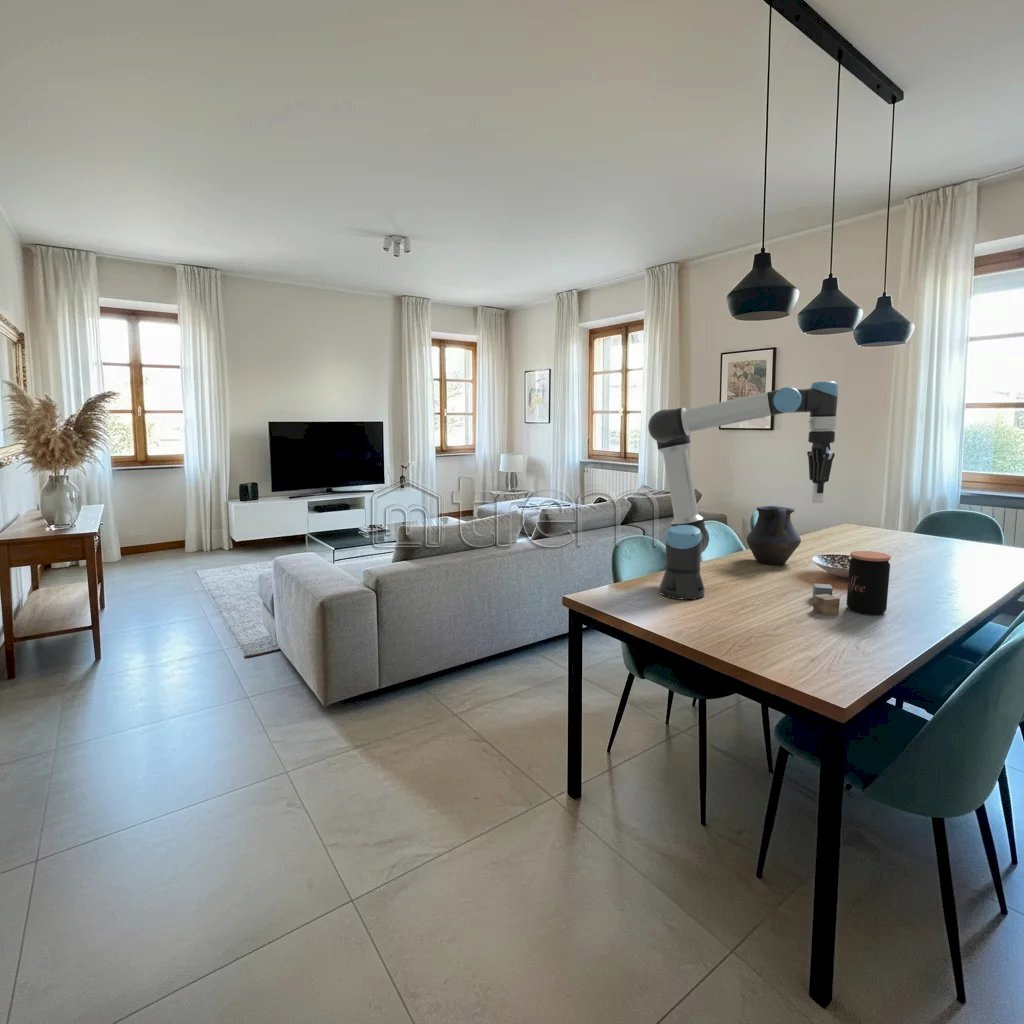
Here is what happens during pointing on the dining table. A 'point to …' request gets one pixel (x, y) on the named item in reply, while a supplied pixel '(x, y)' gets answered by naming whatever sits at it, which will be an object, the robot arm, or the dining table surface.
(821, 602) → the walnut block
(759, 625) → the dining table surface
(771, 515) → the pitcher
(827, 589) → the grey cube
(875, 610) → the coffee jar
